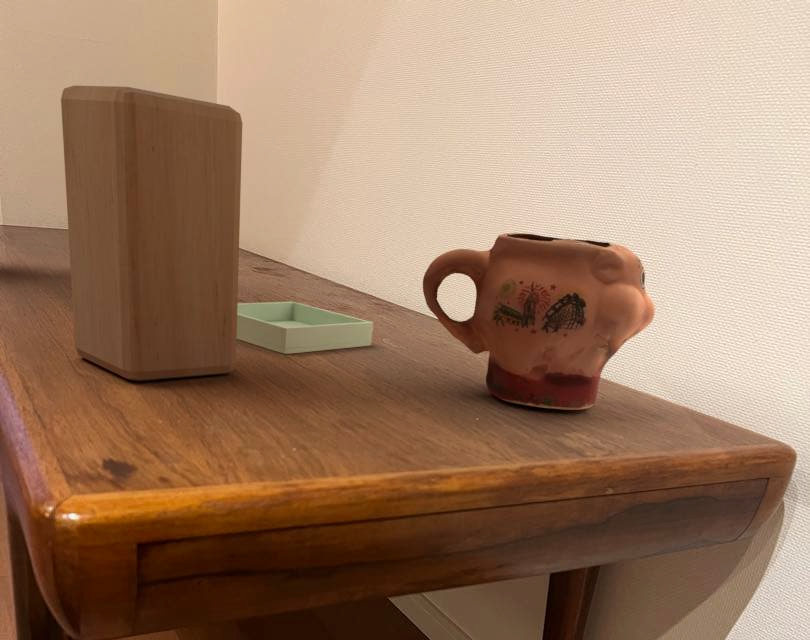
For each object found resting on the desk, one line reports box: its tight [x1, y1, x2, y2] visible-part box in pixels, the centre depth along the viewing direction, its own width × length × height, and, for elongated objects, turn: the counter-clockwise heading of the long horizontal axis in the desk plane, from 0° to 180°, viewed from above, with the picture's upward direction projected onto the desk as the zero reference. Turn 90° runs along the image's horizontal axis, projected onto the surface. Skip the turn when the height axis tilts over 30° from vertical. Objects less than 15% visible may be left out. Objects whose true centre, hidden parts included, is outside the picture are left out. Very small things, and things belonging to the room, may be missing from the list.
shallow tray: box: [237, 301, 374, 355], centre depth 83 cm, size 13×13×2 cm
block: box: [60, 85, 243, 383], centre depth 61 cm, size 10×10×20 cm
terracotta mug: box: [422, 232, 656, 411], centre depth 67 cm, size 20×12×14 cm, turn 95°
